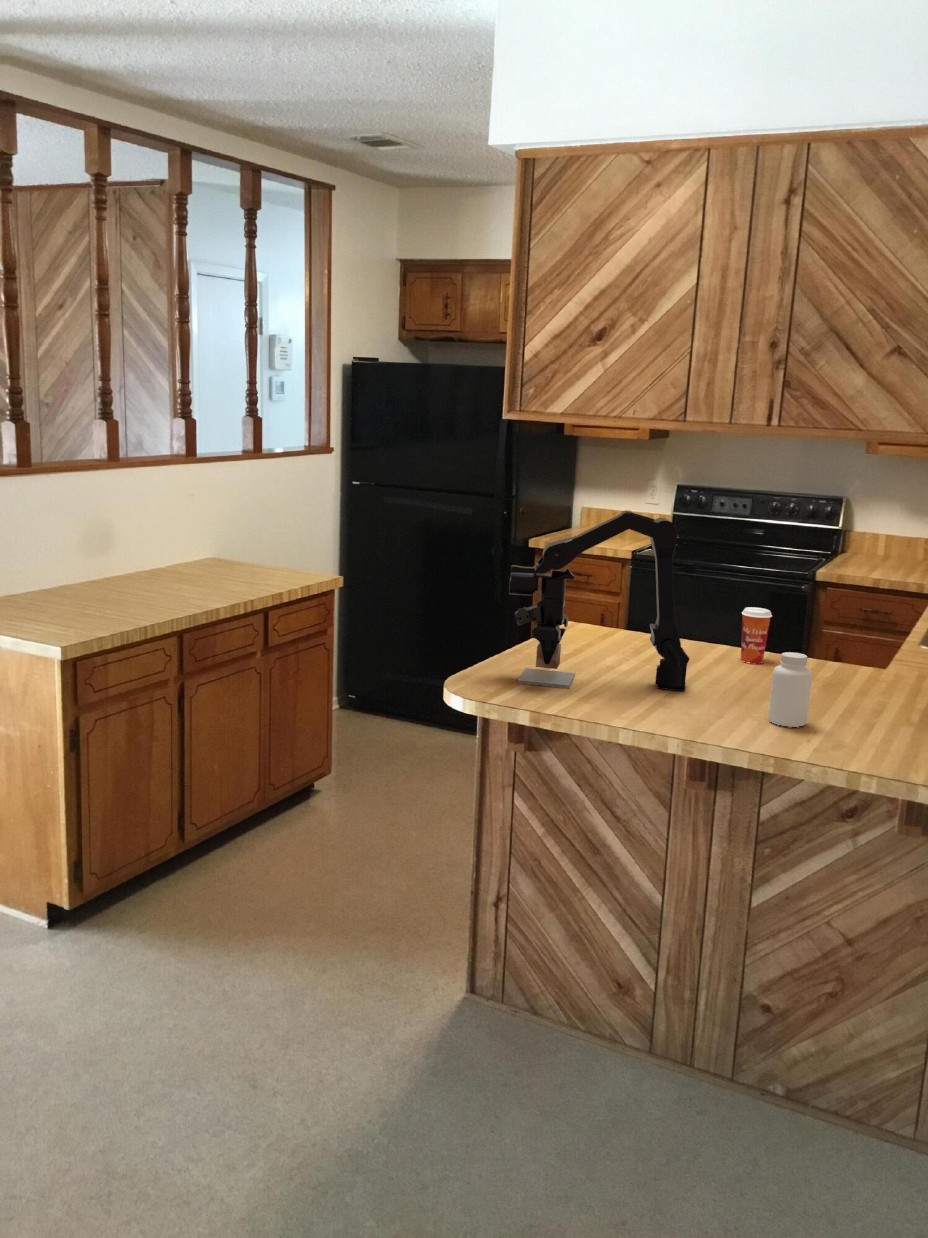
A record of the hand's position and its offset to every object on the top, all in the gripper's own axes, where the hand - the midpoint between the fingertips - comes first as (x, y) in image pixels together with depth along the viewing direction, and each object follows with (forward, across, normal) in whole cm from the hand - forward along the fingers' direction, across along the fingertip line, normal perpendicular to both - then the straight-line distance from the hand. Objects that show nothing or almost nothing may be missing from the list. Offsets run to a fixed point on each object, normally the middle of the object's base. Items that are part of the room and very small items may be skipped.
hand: (548, 661), depth 254 cm
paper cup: (+5, -40, +49) cm, 63 cm away
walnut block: (+1, 0, 0) cm, 1 cm away
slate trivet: (+4, 0, 0) cm, 5 cm away
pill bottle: (+5, +15, +54) cm, 56 cm away
